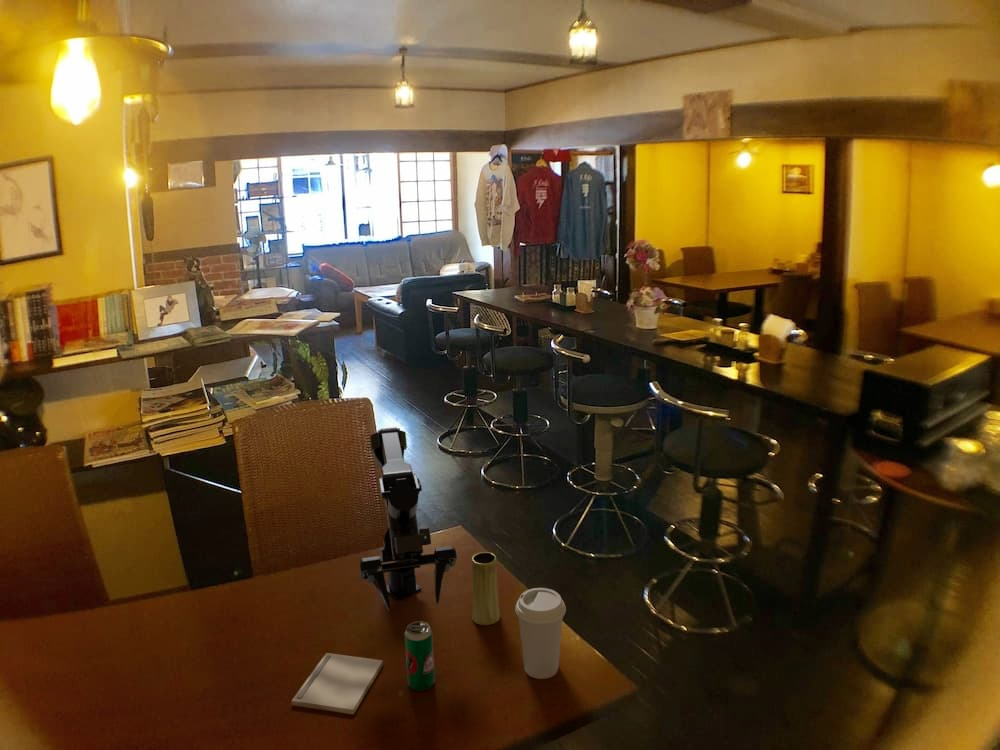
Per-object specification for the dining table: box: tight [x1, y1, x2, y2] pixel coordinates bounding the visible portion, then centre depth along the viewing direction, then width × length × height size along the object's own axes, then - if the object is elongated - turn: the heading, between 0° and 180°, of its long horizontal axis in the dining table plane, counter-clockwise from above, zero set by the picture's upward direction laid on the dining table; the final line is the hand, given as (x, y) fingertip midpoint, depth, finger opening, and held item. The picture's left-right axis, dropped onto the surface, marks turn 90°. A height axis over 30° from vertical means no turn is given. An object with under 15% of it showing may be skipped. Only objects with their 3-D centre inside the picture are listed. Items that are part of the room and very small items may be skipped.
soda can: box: [404, 620, 436, 692], centre depth 137 cm, size 5×5×12 cm
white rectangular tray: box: [291, 652, 384, 715], centre depth 138 cm, size 14×12×1 cm
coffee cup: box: [514, 587, 567, 680], centre depth 140 cm, size 10×10×15 cm
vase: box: [471, 551, 501, 626], centre depth 157 cm, size 6×6×14 cm
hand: (413, 606), depth 141 cm, fingers open, 9 cm apart
